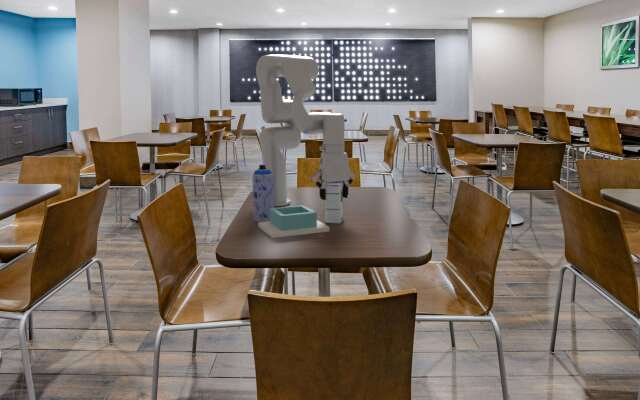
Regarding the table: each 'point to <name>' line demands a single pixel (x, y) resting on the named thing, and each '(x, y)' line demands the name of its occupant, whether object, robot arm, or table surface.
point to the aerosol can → (262, 193)
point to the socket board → (292, 222)
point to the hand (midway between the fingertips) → (334, 198)
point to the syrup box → (334, 202)
